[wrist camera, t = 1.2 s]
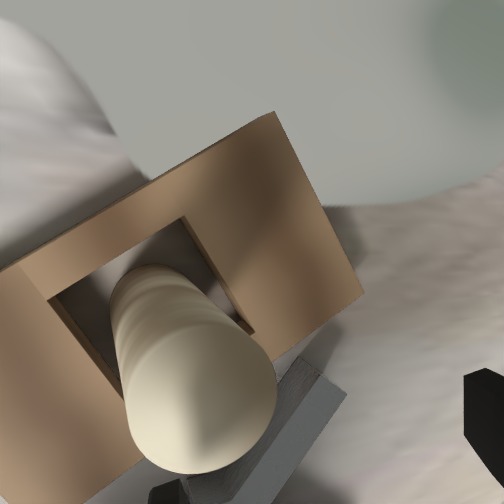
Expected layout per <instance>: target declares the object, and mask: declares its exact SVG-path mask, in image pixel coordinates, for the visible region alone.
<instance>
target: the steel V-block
mask: <svg viewBox="0 0 504 504" xmlns="http://www.w3.org/2000/svg"><path fill="white" fill-rule="evenodd" d="M346 395H347V394H346V393H345V392H344V391H343V390H341V389H340V388H339V387H338V386H336V385H335V384H334V383H333V382H331V381H330V380H329V379H328V378H326V377H325V376H324V375H322V374H321V373H320V372H318V371H317V370H316V369H314V368H313V367H312V366H310V365H309V364H308V363H306V362H305V361H304V360H302V359H301V358H300V357H298V358H297V359H296V360H295V362H294V363H293V364H292V366H291V367H290V369H289V370H288V371H287V373H286V374H285V376H284V377H283V378H282V380H281V381H280V383H279V384H278V385H277V399H276V405H275V409H274V412H273V415H272V418H271V420H270V422H269V424H268V426H267V428H266V430H265V431H264V433H263V435H262V436H261V437H260V439H259V440H258V441H257V442H256V443H255V444H254V446H253V447H252V448H251V449H250V450H249V451H247V452H246V453H245V454H244V455H243V456H241V457H240V458H238V459H237V460H236V461H234V462H232V463H230V464H228V465H227V466H224V467H222V468H220V469H217V470H214V471H211V472H208V473H204V474H201V475H198V476H195V477H192V478H188V479H187V485H188V493H189V501H190V504H271V503H272V502H273V500H274V499H275V497H276V496H277V495H278V493H279V492H280V490H281V489H282V487H283V486H284V484H285V483H286V482H287V480H288V479H289V477H290V476H291V474H292V473H293V472H294V470H295V469H296V467H297V466H298V464H299V463H300V461H301V460H302V459H303V457H304V456H305V454H306V453H307V451H308V450H309V449H310V447H311V446H312V444H313V443H314V441H315V440H316V439H317V437H318V436H319V434H320V433H321V431H322V430H323V428H324V427H325V426H326V424H327V423H328V421H329V420H330V418H331V417H332V416H333V414H334V413H335V411H336V410H337V408H338V407H339V405H340V404H341V403H342V401H343V400H344V398H345V397H346Z"/></svg>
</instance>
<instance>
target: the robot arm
mask: <svg viewBox="0 0 504 504" xmlns="http://www.w3.org/2000/svg"><path fill="white" fill-rule="evenodd" d="M464 436H465V437H466V439H467V440H468V442H469V443H470V445H471V446H472V447H473V449H474V450H475V452H476V453H477V455H478V456H479V457H480V459H481V460H482V462H483V463H484V464H485V466H486V467H487V468H488V470H489V471H490V472H491V474H492V475H493V476H494V477H495V478H496V480H497V481H498V482H499V483H500V484H501V485H502V486H503V488H504V376H502V375H500V374H498V373H496V372H493V371H491V370H489V369H487V368H484V369H481V370H478V371H475V372H472V373H470V374H467V375H464ZM148 504H190V503H189V501H188V498H187V496H186V493H185V491H184V489H183V486H182V484H181V481H180V479H176V480H173V481H171V482H168V483H165V484H162V485H159V486H157V487H154V488H152V490H151V491H150V493H149V499H148Z"/></svg>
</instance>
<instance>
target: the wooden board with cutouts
mask: <svg viewBox="0 0 504 504" xmlns="http://www.w3.org/2000/svg"><path fill="white" fill-rule="evenodd" d="M177 219H180V220H181V222H182V223H183V225H184V227H185V228H186V230H187V232H188V233H189V235H190V236H191V238H192V240H193V241H194V243H195V245H196V246H197V248H198V250H199V251H200V253H201V254H202V256H203V258H204V259H205V261H206V263H207V264H208V266H209V267H210V269H211V271H212V272H213V274H214V276H215V277H216V279H217V280H218V282H219V284H220V285H221V287H222V289H223V290H224V292H225V293H226V295H227V297H228V298H229V300H230V302H231V303H232V305H233V307H234V308H235V310H236V311H237V313H238V315H239V316H240V318H241V321H240V322H238V323H237V325H238V326H239V327H240V328H241V329H243V330H244V331H245V332H246V333H247V334H248V335H249V336H250V337H251V338H252V339H253V340H255V341H256V342H257V343H258V344H259V345H260V346H261V347H262V348H263V350H264V351H265V352H266V354H267V355H268V357H269V359H270V360H271V362H273V361H274V360H276V359H277V358H278V357H280V356H281V355H282V354H284V353H285V352H286V351H288V350H289V349H290V348H292V347H293V346H294V345H296V344H297V343H298V342H300V341H301V340H302V339H304V338H305V337H306V336H308V335H309V334H310V333H312V332H313V331H314V330H316V329H317V328H318V327H320V326H321V325H322V324H324V323H325V322H326V321H328V320H329V319H330V318H332V317H333V316H334V315H336V314H337V313H338V312H340V311H341V310H342V309H344V308H345V307H346V306H348V305H349V304H351V303H352V302H353V301H355V300H356V299H357V298H359V297H360V296H361V295H363V294H364V293H365V292H364V290H363V288H362V286H361V284H360V282H359V280H358V278H357V276H356V274H355V272H354V270H353V268H352V266H351V264H350V262H349V260H348V258H347V256H346V254H345V252H344V250H343V248H342V246H341V244H340V242H339V240H338V238H337V236H336V234H335V232H334V230H333V228H332V226H331V224H330V222H329V220H328V218H327V216H326V214H325V212H324V210H323V208H322V206H321V204H320V202H319V200H318V198H317V196H316V194H315V192H314V190H313V188H312V186H311V184H310V182H309V180H308V178H307V176H306V174H305V172H304V170H303V168H302V166H301V164H300V162H299V160H298V158H297V156H296V154H295V152H294V149H293V148H292V145H291V144H290V142H289V139H288V137H287V135H286V133H285V131H284V129H283V127H282V125H281V123H280V121H279V119H278V117H277V115H276V113H275V111H273V112H271V113H268V114H266V115H263V116H261V117H258V118H257V119H255V120H253V121H252V122H250V123H248V124H247V125H245V126H243V127H241V128H240V129H238V130H236V131H235V132H233V133H231V134H229V135H228V136H226V137H224V138H223V139H221V140H219V141H218V142H216V143H214V144H212V145H211V146H209V147H207V148H206V149H204V150H202V151H201V152H199V153H197V154H195V155H194V156H192V157H190V158H189V159H187V160H186V161H184V162H182V163H180V164H178V165H177V166H175V167H173V168H172V169H170V170H168V171H167V172H165V173H164V174H162V175H160V176H158V177H157V178H155V179H153V180H151V181H150V182H148V183H146V184H145V185H143V186H141V187H139V188H138V189H136V190H134V191H133V192H131V193H129V194H128V195H126V196H124V197H122V198H121V199H119V200H117V201H116V202H114V203H112V204H111V205H109V206H107V207H105V208H104V209H102V210H100V211H99V212H97V213H95V214H94V215H92V216H90V217H88V218H87V219H85V220H83V221H82V222H80V223H78V224H77V225H75V226H73V227H72V228H70V229H68V230H66V231H65V232H63V233H61V234H60V235H58V236H56V237H55V238H53V239H51V240H49V241H48V242H46V243H44V244H43V245H41V246H39V247H38V248H36V249H34V250H32V251H31V252H29V253H27V254H26V255H24V256H22V257H21V258H19V259H17V260H15V261H14V262H12V263H10V264H9V265H7V266H5V267H4V268H2V269H0V495H1V496H2V497H3V498H4V499H5V500H6V501H7V502H8V503H9V504H83V503H84V502H86V501H87V500H88V499H90V498H91V497H92V496H94V495H95V494H96V493H98V492H99V491H100V490H102V489H103V488H104V487H106V486H107V485H108V484H110V483H111V482H112V481H114V480H115V479H116V478H118V477H119V476H120V475H122V474H123V473H124V472H126V471H127V470H128V469H130V468H131V467H132V466H134V465H135V464H136V463H138V462H139V461H140V460H142V459H143V458H144V457H145V455H144V454H143V453H142V452H141V451H140V450H139V448H138V447H137V445H136V444H135V442H134V440H133V437H132V435H131V432H130V428H129V424H128V418H127V412H126V407H125V401H124V395H123V389H122V383H121V382H120V381H119V379H118V378H117V377H116V375H115V374H114V373H113V371H112V370H111V369H110V367H109V366H108V365H107V363H106V362H105V361H104V360H103V358H102V357H101V356H100V354H99V353H98V352H97V350H96V349H95V348H94V346H93V345H92V344H91V342H90V341H89V340H88V338H87V337H86V336H85V335H84V333H83V332H82V331H81V329H80V328H79V327H78V325H77V324H76V323H75V321H74V320H73V319H72V317H71V316H70V315H69V313H68V312H67V311H66V310H65V308H64V307H63V306H62V304H61V303H60V302H59V300H58V299H57V298H56V296H55V295H56V294H58V293H59V292H61V291H63V290H64V289H66V288H67V287H69V286H71V285H72V284H74V283H76V282H77V281H79V280H80V279H82V278H84V277H85V276H87V275H88V274H90V273H92V272H93V271H95V270H96V269H98V268H100V267H101V266H103V265H105V264H106V263H108V262H109V261H111V260H113V259H114V258H116V257H117V256H119V255H121V254H122V253H124V252H125V251H127V250H129V249H130V248H132V247H134V246H135V245H137V244H138V243H140V242H142V241H143V240H145V239H146V238H148V237H150V236H151V235H153V234H154V233H156V232H158V231H159V230H161V229H162V228H164V227H166V226H167V225H169V224H171V223H172V222H174V221H175V220H177Z"/></svg>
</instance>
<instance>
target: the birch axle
mask: <svg viewBox="0 0 504 504" xmlns="http://www.w3.org/2000/svg"><path fill="white" fill-rule="evenodd" d="M109 313H110V319H111V325H112V331H113V337H114V343H115V348H116V354H117V360H118V366H119V372H120V377H121V383H122V389H123V395H124V401H125V407H126V412H127V418H128V424H129V428H130V432H131V435H132V437H133V440H134V442H135V444H136V445H137V447H138V448H139V450H140V451H141V452H142V453H143V454H144V455H145V457H146V458H148V459H149V460H150V461H151V462H153V463H154V464H156V465H157V466H159V467H161V468H163V469H166V470H169V471H172V472H176V473H182V474H200V473H206V472H210V471H214V470H217V469H220V468H222V467H224V466H227V465H228V464H230V463H232V462H234V461H236V460H237V459H238V458H240V457H241V456H243V455H244V454H245V453H246V452H247V451H249V450H250V449H251V448H252V447H253V446H254V444H255V443H256V442H257V441H258V440H259V439H260V437H261V436H262V435H263V433H264V431H265V430H266V428H267V426H268V424H269V422H270V420H271V418H272V415H273V412H274V409H275V405H276V399H277V379H276V374H275V370H274V368H273V365H272V362H271V360H270V359H269V357H268V355H267V354H266V352H265V351H264V350H263V348H262V347H261V346H260V345H259V344H258V343H257V342H256V341H255V340H253V339H252V338H251V337H250V336H249V335H248V334H247V333H246V332H245V331H244V330H243V329H241V328H240V327H239V326H238V325H237V324H236V323H235V322H234V321H233V320H232V319H231V318H230V317H228V316H227V315H226V314H225V313H224V312H223V311H222V310H221V309H220V308H219V307H218V306H217V305H215V304H214V303H213V302H212V301H211V300H210V299H209V298H208V297H207V296H206V295H205V294H203V293H202V292H201V291H200V290H199V289H198V288H197V287H196V286H195V285H194V284H193V283H192V282H190V281H189V280H188V279H187V278H186V277H185V276H184V275H183V274H182V273H180V272H179V271H177V270H176V269H174V268H172V267H169V266H166V265H161V264H149V265H144V266H140V267H138V268H135V269H133V270H132V271H130V272H128V273H127V274H126V275H125V276H124V277H122V278H121V279H120V281H119V282H118V283H117V285H116V286H115V288H114V290H113V292H112V295H111V298H110V303H109Z"/></svg>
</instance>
